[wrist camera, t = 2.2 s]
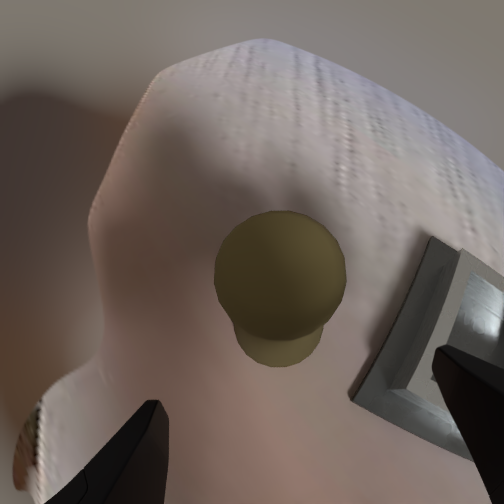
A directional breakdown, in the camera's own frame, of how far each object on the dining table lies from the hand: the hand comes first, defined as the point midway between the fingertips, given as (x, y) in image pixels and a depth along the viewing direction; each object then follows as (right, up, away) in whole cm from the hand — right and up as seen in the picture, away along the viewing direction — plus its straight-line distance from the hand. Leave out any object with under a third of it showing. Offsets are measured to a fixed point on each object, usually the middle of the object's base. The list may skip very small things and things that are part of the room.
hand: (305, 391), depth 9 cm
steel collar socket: (+14, -4, +10) cm, 18 cm away
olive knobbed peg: (0, -1, +12) cm, 12 cm away
